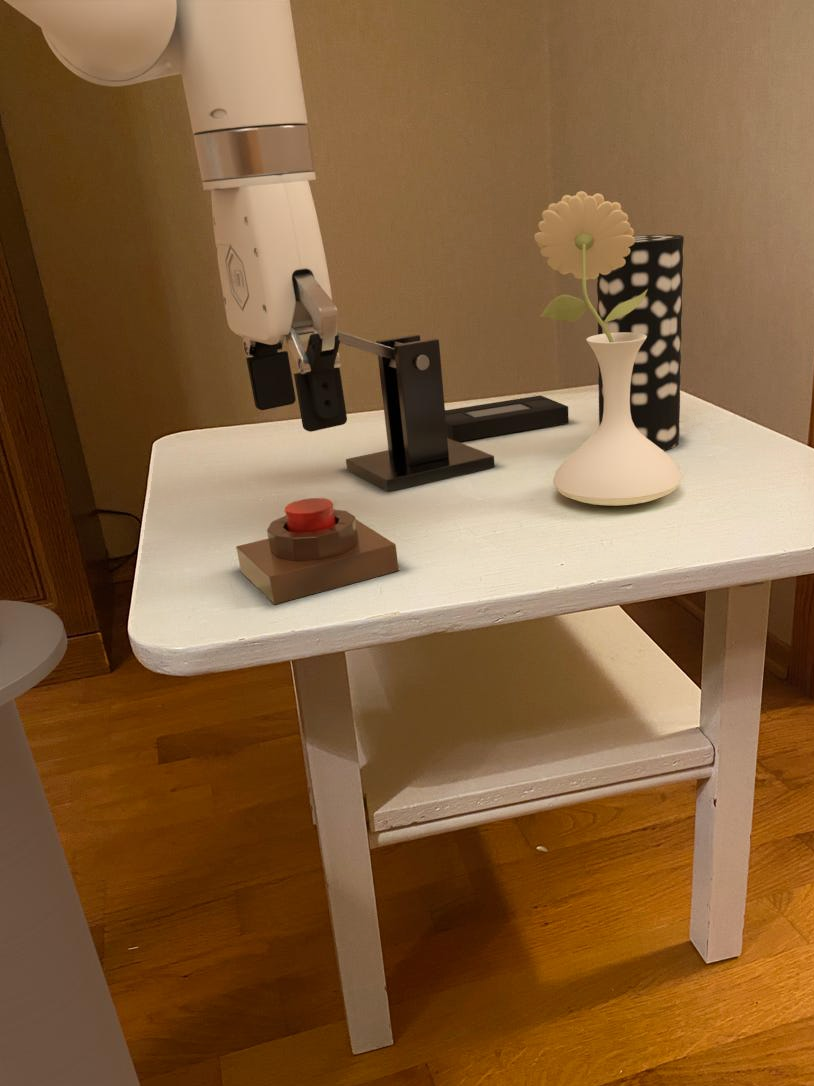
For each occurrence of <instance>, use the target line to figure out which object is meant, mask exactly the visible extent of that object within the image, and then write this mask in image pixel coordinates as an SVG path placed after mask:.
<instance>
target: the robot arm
mask: <svg viewBox="0 0 814 1086" xmlns="http://www.w3.org/2000/svg"><path fill="white" fill-rule="evenodd" d="M3 1H4V2H5V3H7V4H8V5H9V6H11V7H13V8H14V9H15V10H16V11H18V12H19V13H20V14H22V15H23V16H25V17H26V18H27V19H28V20H30V21H31V22H33V23H34V24H36V25H37V26H38V27H40V29H41V32H42V35H43V37H44V39H45V41H46V44H48V47H49V48H50V50H51V51H52V53H53V54H54V55H55V57H56V58H57V59H58V61H60V63H62V65H64V67H65V68H66V69H68V70H69V71H70V72H71V73H73V74H74V75H76V76H77V77H79V78H81V79H83V80H85V81H86V82H89V83H92V84H95V85H99V86H104V87H126V86H131V85H136V84H139V83H145V82H148V81H152V80H153V81H154V80H158V79H162V78H166V77H171V76H177V75H181V80H182V83H183V84H182V85H183V90H184V95H185V100H186V105H187V110H188V116H189V119H190V120H189V121H190V126H191V130H192V135H193V142H194V146H195V152H196V156H197V161H198V166H199V172H200V177H201V181H202V182H201V183H202V188H203V191H210V196H211V214H212V227H213V234H214V242H215V251H216V257H217V263H218V271H219V278H220V284H221V290H222V297H223V303H224V309H225V316H226V321H227V325H228V327H229V329H230V330H231V331H232V332H233V333H234V334H235V335H237V336H239V337H241V338H243V339H242V348H243V352H244V354H245V356H246V358H245V359H246V365H247V369H248V376H249V380H250V386H251V391H252V395H253V402H254V406H255V408H256V409H257V410H259V411H266V410H270V409H271V410H272V409H276V408H280V407H285V406H289V405H290V406H291V405H293V404H295V403H296V401H297V400H298V401H297V402H298V407H299V412H300V418H301V424H302V428H303V430H305V431H307V432H309V433H311V432H317V431H321V430H325V429H330V428H336V427H340V426H343V425H345V424H346V423H347V421H348V415H347V409H346V402H345V396H344V388H343V383H342V382H343V381H342V375H341V366H342V360H341V356H340V353H339V348H340V344H341V343H340V340H339V336H338V335H337V331H338V326H339V325H338V324H339V311H338V307H337V305H336V304H335V303H334V301H333V295H332V288H331V281H330V275H329V270H328V263H327V257H326V253H325V248H324V243H323V238H322V233H321V229H320V224H319V219H318V215H317V210H316V206H315V201H314V198H313V193H312V190H311V186H310V182H309V181H316V180H317V178H316V177H317V176H316V171H315V163H314V157H313V151H312V150H313V149H312V144H311V143H312V142H311V136H310V131H309V130H310V129H309V125H308V116H307V115H308V114H307V108H306V102H305V101H306V100H305V95H304V89H303V82H302V76H301V75H302V74H301V69H300V62H299V56H298V55H299V54H298V47H297V42H296V41H297V40H296V35H295V27H294V20H293V15H292V8H291V0H3ZM284 340H285V342H286V344H287V346H288V349H289V351H290V354H291V356H292V358H293V360H294V362H295V364H296V367H297V369H298V372H296V373H293V375H292V369H291V363H290V356H289V352H288V350H284V351H282V350H283V345H284ZM303 343H307V346H306V349H305V347H304V345H303ZM293 378H294V380H293ZM294 383H295V387H294ZM295 389H296V392H295ZM296 395H297V399H296Z"/></svg>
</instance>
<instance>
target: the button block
mask: <svg viewBox="0 0 814 1086" xmlns="http://www.w3.org/2000/svg"><path fill="white" fill-rule="evenodd" d="M333 509H334V516H335V523H336V525H334V526H332V527H330V528H328V529H324V530H320V531H316V532H304V533H297V532H290V531H288V526H287V520H286V514H284V515H283V516H281V517H279V518H277V519H275V520H272V522H270V524H269V526H268V527H267V529H266V532H267V537H268V538H264V539H261V540H260V539H259V540H256V541H252V542H249V543H245V544H240V545H236V547H235V548H236V552H237V559H238V563H239V568H240V569H239V570H240V572H241V574H243V575H244V576H245V577H246V578H247V579H248V580H249V581H250V582H251V583H252V584H253V585H254V587H256V588H257V589H258V590H259V591H260V592H261V593H262V594H263V595H264V596H265V597H266V598H267V599H268V600H269V601H270V602H271V603H272V604H273V605H279V604H283V603H285V602H289V601H294V600H296V599H297V600H298V599H300V598H303V597H304V598H305V597H308V596H312V595H315V594H319V593H322V592H326V591H329V590H334V589H337V588H340V587H344V586H349V585H351V584H355V583H359V582H363V581H366V580H370V579H373V578H377V577H381V576H384V575H388V574H391V573H395V572H399V562H398V554H397V553H398V551H397V545H396V543H395V542H393V541H392V540H389V539H388V538H386V537H385V536H383V535H382V534H380V533H378V532H377V531H376V530H374V529H373V528H371V527H369V526H367V524H365V523H363V522H361V521H359V520H358V519H357V518H356V516H355V515H353V514H352V513H350V512H349V511H347V510H342V509H335V508H333Z"/></svg>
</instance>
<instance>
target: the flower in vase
mask: <svg viewBox="0 0 814 1086" xmlns="http://www.w3.org/2000/svg"><path fill="white" fill-rule="evenodd" d="M541 217H542V219H543V220H541V221H540V222H538V224H537V225H538V229H539V231H538V232H536V233H535V234H534V236H533V237H534V241H535V242H536V245H537V246H538V247H539V248H540V251H539V253H540V254H541V256H542V257H544V258H548V259H547V261H546V263H547V265H548V266H549V267H551V269H553V271H557V272H559V274H561V275H568V274H569V273H570V274H572V275H573V277H574V278H575V279H577V280H581V282H582V283H581V285H582V295H583V298H584V300H583V299H581V298H578V297H575V296H573V295H569V294H560V295H558V296H556V297H555V298H553V299H552V300H551V301H550V302H548V303H549V304H547V306H546V307H545V308H544V310H543V311H542V312H541V314H540V318H546V319H553V320H557V321H562V322H568V323H569V322H570V323H575V322H577V321H579V320H580V318H582V316H583V315H584V313H585V312H586V311H587V310H588V309H589V311H590V312H591V314H592V315H593V317H594V318H595V320H596V322H597V324H598V323H599V324H600V325H601V327H602V329H603V330H604V332H605V334H599V335H598V334H594V335H591V336H588V337H587V338H586V339H585V341H586V343H587V344H588V346H590V348H591V349H592V351H593V354H594V355H595V357H596V360H597V363H598V362H599V366H600V370H601V375H602V382H603V393H604V412H603V418H602V422H601V425H600V427H599V426H598V428H597V430H596V431H595V432H594V433H593V434H592V436H590V437H589V438H588V439H587V440H586V441H585V442H584V443H583V444H581V445H580V446H579V447H577V449H575V450H574V451H573V452H572V453H571V454H570V455H569V456H568V457H566V459H564V460H563V462H562V463H561V464H560V465H559V466H558V468H557V469H556V471H555V474H554V477H553V478H552V479H553V480H552V483H553V485H554V487H555V488H556V489H557V491H558V492H559V493H560V494H561V495H563V496H564V497H566V498H568V499H572V500H574V501H576V502H577V501H578V502H581V503H585V504H589V505H595V506H615V507H616V506H630V505H637V504H645V503H648V502H651V501H652V502H653V501H655V500H657V499H659V498H663V497H665V496H668V495H670V494H671V493H673V492H674V491H676V490H677V488H678V487H679V486H680V484H681V483H682V481H683V480H684V479H683V478H684V477H683V473H682V471H681V468H680V465H679V464H678V462H676V461H675V460H674V458H673V457H671V456H670V455H669V454H668V453H667V452H666V451H665V450H664V451H663V450H662V449H660V448H659V447H658V446H657V445H655V444H654V443H653V442H651V441H650V440H649V439H647V438H646V437H645V436H644V435H643V434H641V433H640V432H639V431H638V429H637V428H636V427H635V426H634V423H633V421H632V418H631V413H630V384H631V375H632V370H633V365H634V361H635V358H636V355H637V353H638V351H639V349H640V347H641V345H642V344H643V342H644V341H645V340H646V338H647V336H646V335H645V334H641V333H632V332H619V333H610V332H609V330H608V329H607V327H606V325H605V324H604V322H609V321H612V320H614V319H618V318H620V317H623V316H625V315H626V314H628V313H630V312H631V311H632V310H634V309H635V308H636V307H637V306H638V305H639V304H640V303H641V301H642V300H643V298H644V297H645V295H646V292H647V290H648V289H647V290H646V291H645V292H643V293H642V294H641V295H639V296H637V297H635V298H633V299H630V300H628V301H625V302H623V303H621V304H619V305H618V306H616V307H615V308H614V309H613V310H612V311H611V312H610V314H609V315H608V316H607V318H606V319H605V321H604V322H603V321H602V319H601V318H600V317H599V315H598V314H597V310H596V308H595V307H594V306H593V305H592V303H591V300H590V298H589V295H588V291H587V280H597V277H598V276H599V273H601V274H603V275H607V274H609V273H610V272H611V270H615V269H617V268H620V267H622V266H624V265H625V263H626V261H625V259H624V258H623V257H625V256H628V255H629V254H630V248H629V247H630V246H632V245H633V244H634V243H635V238H634V237H633V236H634V233H635V231H634V228H632V227H631V223H630V222H629V215H628V213H626V212H624V211H623V210H622V204H621V203H619V202H617V201H614V202H611V201H609V200H607V201H605V197H604V195H603V194H601V193H595V194H594V195H588V194H587V192H585V191H582V190H580V191H578V192H576V194H575V195H572V196H571V195H570V194H564V195H563V196H562V197H561V199H560V200H559V201H558V202H556V203H553V202H552V203H550V204H549V205H548V207H547V209H545V210H543V211H542V213H541Z"/></svg>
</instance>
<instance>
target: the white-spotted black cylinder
mask: <svg viewBox="0 0 814 1086" xmlns="http://www.w3.org/2000/svg"><path fill="white" fill-rule="evenodd" d="M632 236H633V237H634V238H635V243H634V244H633V245H632V246H630V247H629V248H630V254H629V255H628V256H625V257H623V258H624V259H625V261H626V263H625V265H624V266H622V267H620V268H617V269H615V270H611V272H610V273H609V274H607V275H603V274H601V273H599V276H598V277H597V278H596V308H597V309H596V312H597V314H598V315H599V317H600V318H601V319H602V321H603V322H604V321H605V319H606V318H607V316H608V315H609V314H610V312H611V311H612V310H613V309H614V308H615V307H616V306H618V305H619V304H621V303H623V302H625V301H628V300H630V299H633V298H635V297H637V296H639V295H641V294H642V293H643V292H645V291H646V290H647V289H648V290H647V292H646V295H645V297H644V298H643V300H642V301H641V303H640V304H639V305H638V306H637V307H636V308H635V309H634V310H632V311H631V312H630V313H628V314H626V315H625V316H623V317H620V318H618V319H614V320H612V321H609V322H604V324H605V325H606V327H607V329H608V330H609V332H610V333H619V332H632V333H641V334H645V335H646V336H647V338H646V340H645V341H644V342H643V344H642V345H641V347H640V349H639V351H638V353H637V355H636V358H635V361H634V365H633V370H632V375H631V384H630V413H631V418H632V421H633V423H634V426H635V427H636V428H637V429H638V431H639V432H640V433H641V434H643V435H644V436H645V437H646V438H647V439H649V440H650V441H651V442H653V443H654V444H655V445H657V446H658V447H659V448H660V449H662V450H663V451H664V452H665V451H668V450H670V449H673V448H675V447H676V446H678V445H679V444H680V426H681V425H680V422H681V420H680V418H681V375H682V334H683V333H682V331H683V330H682V327H683V326H682V325H683V289H684V288H683V287H684V282H683V281H684V280H683V279H684V243H685V242H684V241H685V240H684V239H685V238H684V237H685V236H684V235H682V234H646V235H643V234H642V235H632ZM599 334H605V332H604V330H603V329H602V327H601V325H600V324H599V323H598V322H597V335H599ZM597 368H598V369H597V376H598V377H597V378H598V382H597V383H598V384H597V385H598V428H599V427H600V425H601V422H602V418H603V412H604V393H603V382H602V375H601V370H600V366H599V362H598V361H597Z"/></svg>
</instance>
